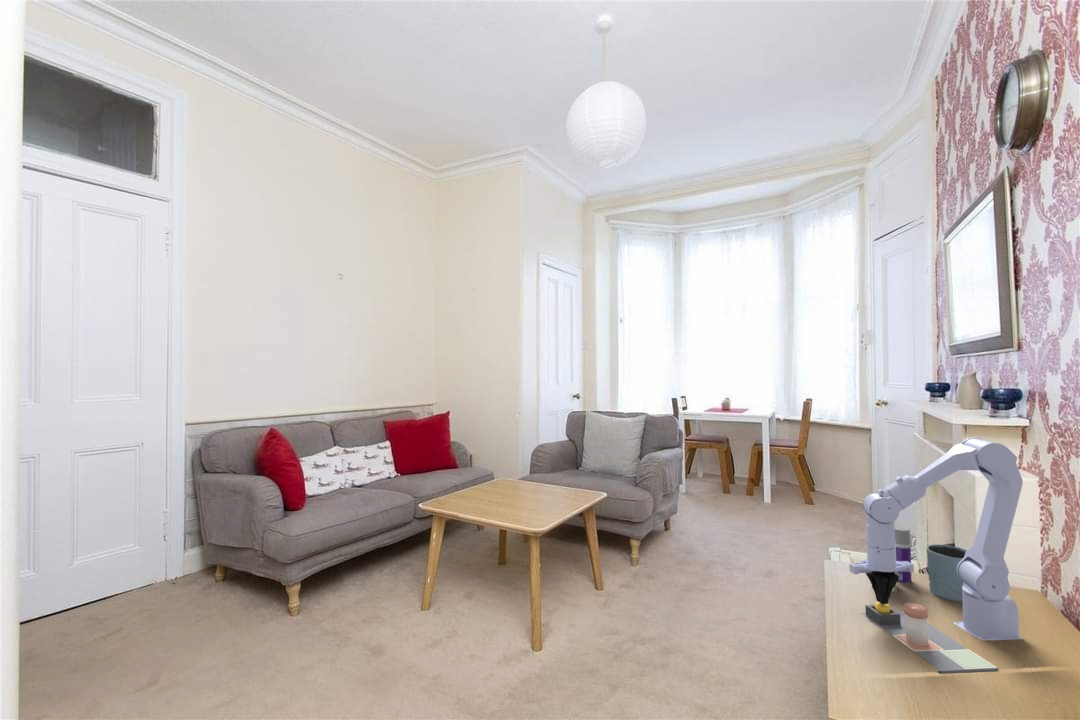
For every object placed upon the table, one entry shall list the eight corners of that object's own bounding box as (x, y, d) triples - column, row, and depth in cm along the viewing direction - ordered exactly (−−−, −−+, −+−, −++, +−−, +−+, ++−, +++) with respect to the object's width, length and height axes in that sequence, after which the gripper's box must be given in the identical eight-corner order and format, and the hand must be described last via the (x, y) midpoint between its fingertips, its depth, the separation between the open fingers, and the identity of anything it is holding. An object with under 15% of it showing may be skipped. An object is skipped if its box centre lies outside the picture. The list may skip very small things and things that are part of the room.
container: (915, 585, 143) (913, 531, 143) (896, 584, 144) (894, 530, 144) (906, 578, 147) (905, 525, 147) (888, 577, 148) (886, 525, 148)
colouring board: (908, 613, 127) (908, 610, 127) (998, 671, 103) (998, 667, 103) (861, 615, 127) (860, 612, 127) (940, 673, 103) (940, 670, 103)
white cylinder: (918, 636, 115) (917, 602, 115) (934, 646, 111) (932, 611, 111) (900, 637, 115) (899, 603, 115) (915, 647, 111) (913, 612, 111)
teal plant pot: (925, 585, 143) (923, 541, 143) (971, 592, 137) (970, 547, 138) (930, 600, 134) (929, 553, 134) (980, 608, 129) (979, 560, 129)
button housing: (885, 614, 126) (885, 604, 126) (900, 624, 121) (900, 614, 121) (865, 614, 126) (865, 605, 126) (879, 625, 121) (879, 614, 121)
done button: (884, 612, 125) (884, 601, 125) (893, 618, 122) (893, 607, 122) (872, 612, 125) (872, 601, 125) (881, 618, 122) (880, 607, 122)
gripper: (897, 538, 128) (899, 593, 127) (840, 540, 127) (842, 595, 127) (920, 549, 121) (921, 607, 120) (859, 551, 120) (861, 609, 120)
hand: (882, 602), depth 123 cm, fingers closed
